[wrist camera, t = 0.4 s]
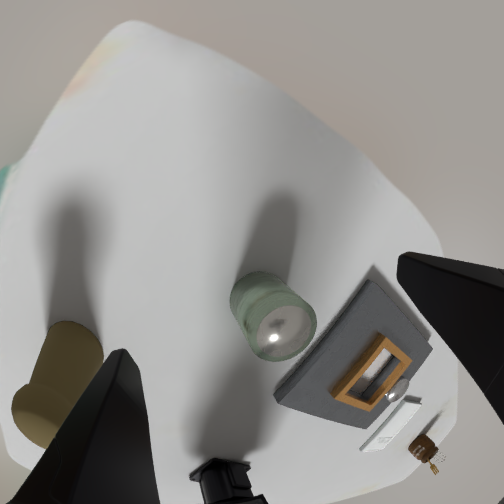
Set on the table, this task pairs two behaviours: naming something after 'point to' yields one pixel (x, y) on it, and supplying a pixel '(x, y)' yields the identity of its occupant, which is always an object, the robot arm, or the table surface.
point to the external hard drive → (391, 426)
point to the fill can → (272, 316)
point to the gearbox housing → (357, 362)
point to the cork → (56, 381)
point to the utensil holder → (424, 450)
